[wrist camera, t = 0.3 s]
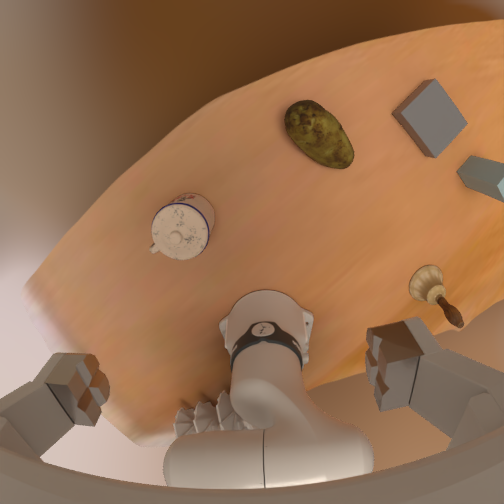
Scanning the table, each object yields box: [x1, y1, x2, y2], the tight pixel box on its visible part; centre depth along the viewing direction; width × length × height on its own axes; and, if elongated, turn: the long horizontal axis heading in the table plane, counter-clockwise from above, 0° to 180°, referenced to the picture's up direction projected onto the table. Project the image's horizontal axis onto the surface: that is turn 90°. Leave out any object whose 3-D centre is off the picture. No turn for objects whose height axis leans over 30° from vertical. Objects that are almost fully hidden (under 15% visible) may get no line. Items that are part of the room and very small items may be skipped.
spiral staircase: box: [173, 391, 261, 439], centre depth 65 cm, size 18×18×25 cm
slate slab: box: [392, 79, 468, 158], centre depth 46 cm, size 10×10×4 cm
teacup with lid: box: [149, 193, 215, 260], centre depth 51 cm, size 12×9×12 cm
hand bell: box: [409, 265, 464, 328], centre depth 52 cm, size 8×8×16 cm
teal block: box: [457, 155, 504, 202], centre depth 44 cm, size 4×5×13 cm
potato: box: [284, 100, 354, 169], centre depth 46 cm, size 8×13×8 cm, turn 29°
